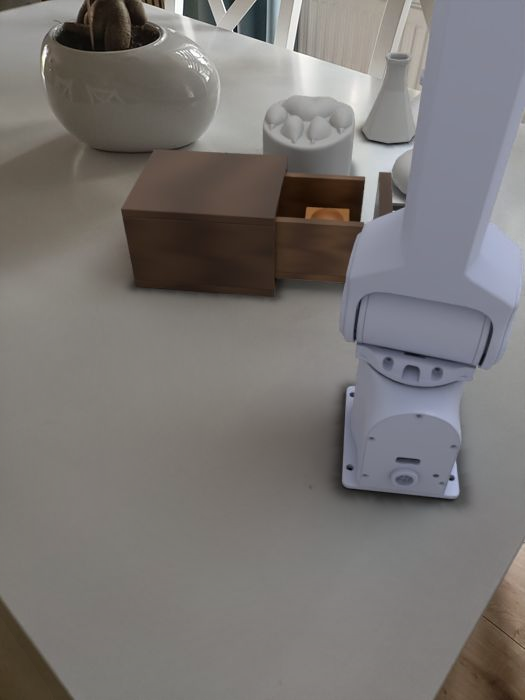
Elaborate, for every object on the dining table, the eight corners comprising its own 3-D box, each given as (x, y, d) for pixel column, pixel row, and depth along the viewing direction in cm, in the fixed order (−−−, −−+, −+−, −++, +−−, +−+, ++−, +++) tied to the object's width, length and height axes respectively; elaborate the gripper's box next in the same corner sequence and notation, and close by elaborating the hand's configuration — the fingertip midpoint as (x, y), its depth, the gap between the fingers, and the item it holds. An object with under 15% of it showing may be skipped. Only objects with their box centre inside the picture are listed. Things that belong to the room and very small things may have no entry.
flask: (416, 146, 81) (429, 67, 74) (360, 143, 82) (368, 64, 75) (415, 123, 86) (427, 47, 79) (362, 120, 87) (370, 44, 80)
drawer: (424, 234, 65) (436, 174, 60) (430, 296, 57) (445, 234, 53) (264, 224, 67) (264, 165, 62) (250, 283, 59) (248, 221, 54)
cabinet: (286, 230, 67) (288, 155, 61) (274, 296, 59) (274, 218, 53) (164, 222, 69) (154, 148, 63) (135, 286, 60) (120, 208, 54)
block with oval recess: (346, 269, 59) (349, 233, 56) (301, 267, 59) (303, 231, 56) (346, 236, 63) (350, 201, 60) (305, 234, 63) (306, 199, 60)
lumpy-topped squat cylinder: (352, 157, 79) (358, 88, 73) (346, 211, 70) (353, 137, 64) (271, 152, 80) (271, 84, 74) (255, 204, 71) (253, 131, 65)
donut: (387, 205, 71) (478, 212, 69) (391, 178, 69) (485, 184, 67) (392, 164, 78) (474, 170, 76) (395, 138, 76) (480, 143, 74)
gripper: (433, -14, 51) (408, 142, 61) (427, 44, 41) (398, 221, 51) (522, -10, 50) (482, 149, 60) (539, 50, 40) (488, 231, 49)
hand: (449, 183), depth 55 cm, fingers open, 7 cm apart
